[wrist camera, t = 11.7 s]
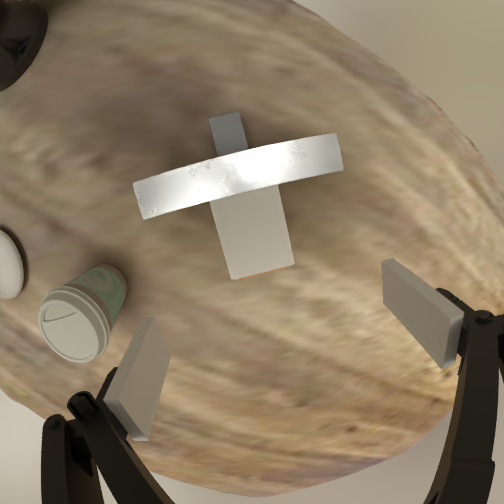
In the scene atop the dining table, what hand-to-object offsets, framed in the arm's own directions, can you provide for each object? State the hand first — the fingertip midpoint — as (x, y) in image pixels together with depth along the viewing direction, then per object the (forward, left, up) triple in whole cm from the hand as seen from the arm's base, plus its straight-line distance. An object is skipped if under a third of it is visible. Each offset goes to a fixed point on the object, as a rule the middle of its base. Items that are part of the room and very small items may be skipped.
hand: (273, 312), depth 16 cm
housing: (-7, 0, -19) cm, 21 cm away
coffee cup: (+2, -20, -20) cm, 28 cm away
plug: (-5, 0, -19) cm, 20 cm away
